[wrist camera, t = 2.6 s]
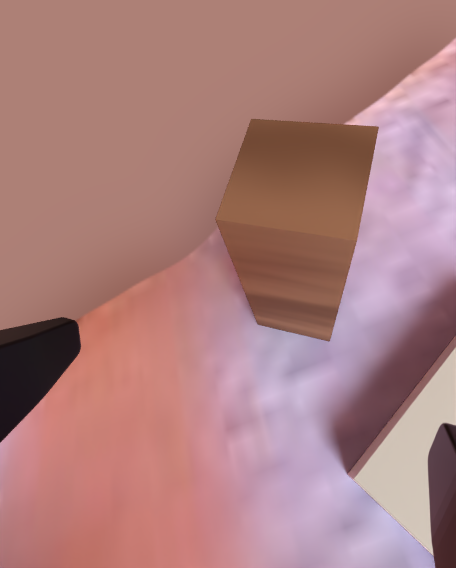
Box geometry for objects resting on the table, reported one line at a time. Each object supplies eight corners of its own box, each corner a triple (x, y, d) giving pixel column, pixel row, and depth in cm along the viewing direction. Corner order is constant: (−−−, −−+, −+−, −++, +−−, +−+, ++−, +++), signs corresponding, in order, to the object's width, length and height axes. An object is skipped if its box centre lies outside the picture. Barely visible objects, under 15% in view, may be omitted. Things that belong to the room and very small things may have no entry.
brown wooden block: (329, 341, 21) (356, 240, 10) (257, 324, 22) (215, 219, 12) (342, 275, 23) (378, 126, 12) (274, 262, 24) (251, 119, 13)
